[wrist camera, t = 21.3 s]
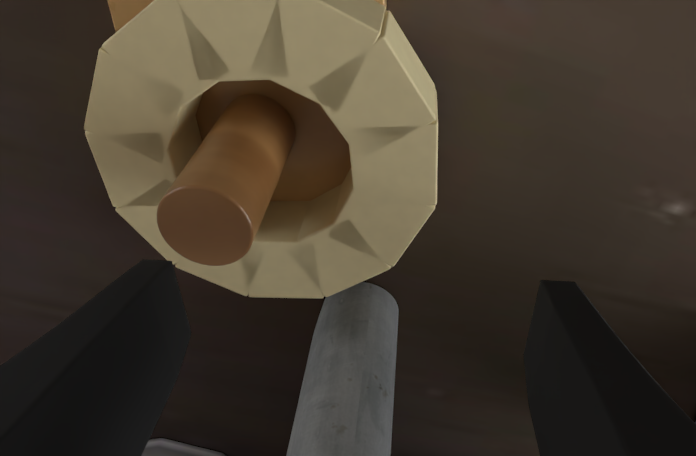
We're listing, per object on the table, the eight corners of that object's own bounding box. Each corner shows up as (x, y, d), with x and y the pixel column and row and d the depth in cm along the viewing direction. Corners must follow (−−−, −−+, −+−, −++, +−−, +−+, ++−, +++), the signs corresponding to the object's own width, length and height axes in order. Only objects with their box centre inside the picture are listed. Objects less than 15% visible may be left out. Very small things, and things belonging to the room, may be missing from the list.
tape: (434, 255, 20) (435, 301, 18) (171, 253, 21) (146, 296, 19) (438, -51, 14) (440, -31, 12) (78, -26, 16) (29, -5, 14)
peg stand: (383, 218, 21) (370, 352, 15) (176, 210, 21) (96, 334, 16) (386, -12, 16) (367, 68, 11) (121, -11, 17) (-17, 64, 12)
